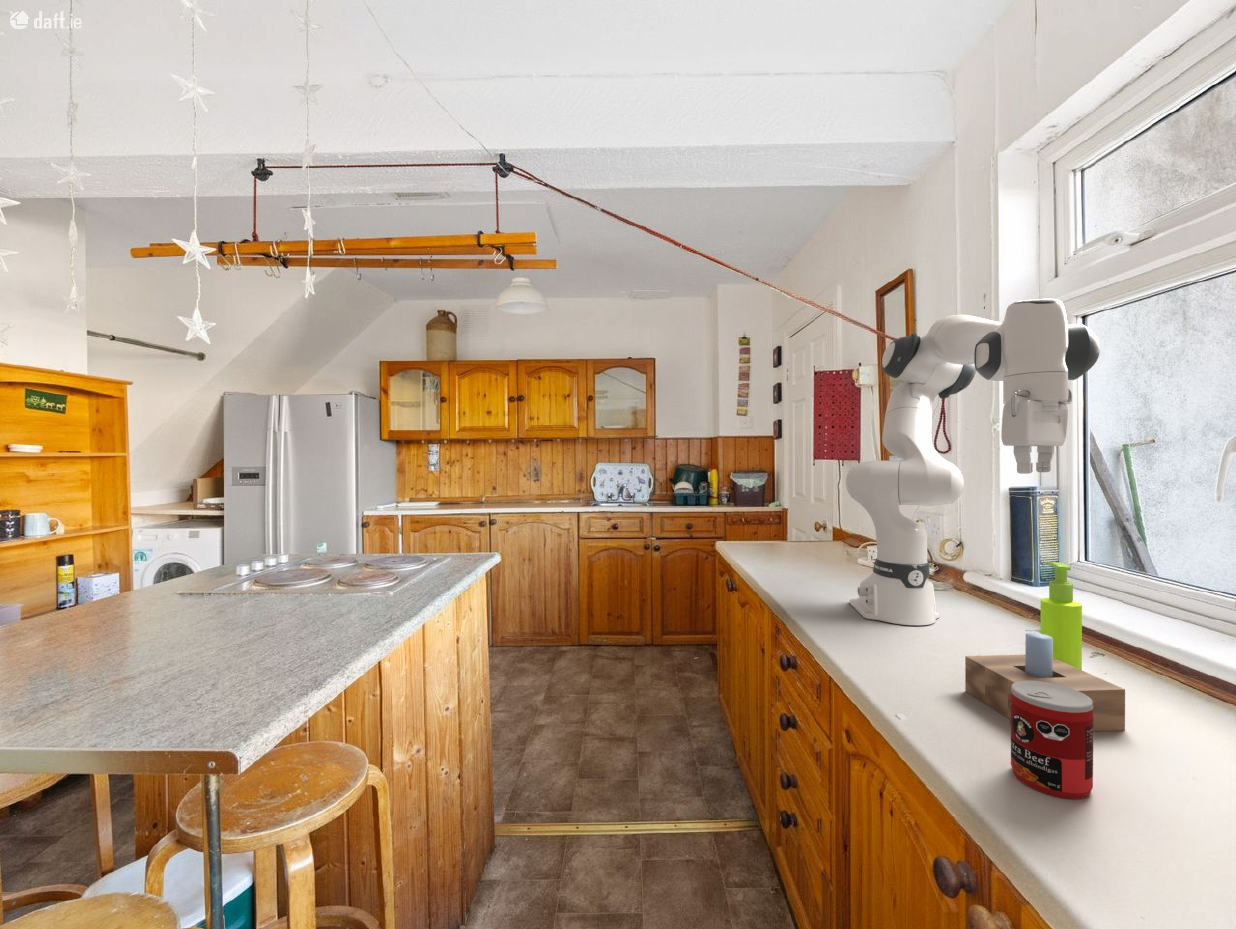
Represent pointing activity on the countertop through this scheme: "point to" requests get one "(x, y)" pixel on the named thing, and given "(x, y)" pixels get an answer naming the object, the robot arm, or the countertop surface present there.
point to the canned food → (1052, 738)
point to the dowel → (1039, 655)
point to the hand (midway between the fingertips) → (1034, 472)
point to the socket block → (999, 672)
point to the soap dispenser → (1063, 618)
